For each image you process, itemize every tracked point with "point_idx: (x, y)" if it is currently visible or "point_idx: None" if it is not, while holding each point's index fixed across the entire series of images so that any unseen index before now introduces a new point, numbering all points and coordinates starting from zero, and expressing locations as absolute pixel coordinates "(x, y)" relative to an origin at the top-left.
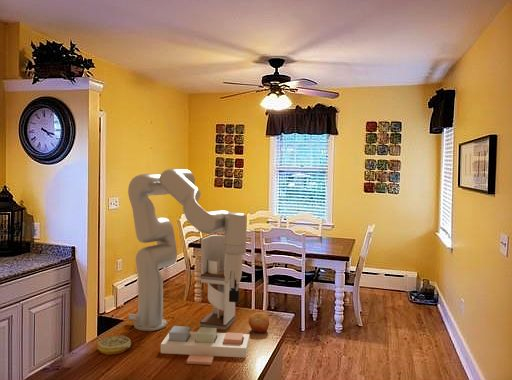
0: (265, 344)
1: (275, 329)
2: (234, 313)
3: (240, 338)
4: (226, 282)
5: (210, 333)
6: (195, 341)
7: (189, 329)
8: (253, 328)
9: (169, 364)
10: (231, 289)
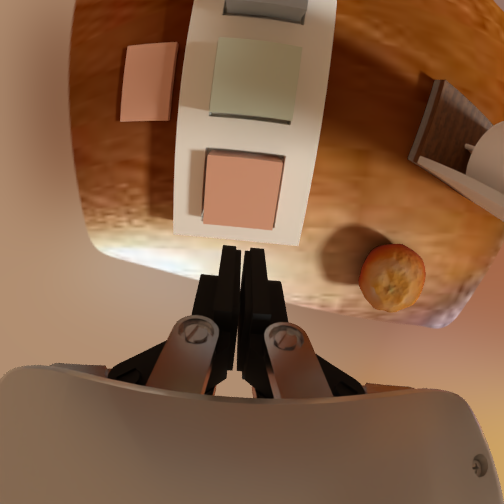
0: (280, 276)
1: None
2: (476, 203)
3: (217, 220)
4: (118, 381)
5: (221, 96)
6: None
7: (290, 8)
8: (370, 254)
9: (128, 7)
10: (157, 348)
